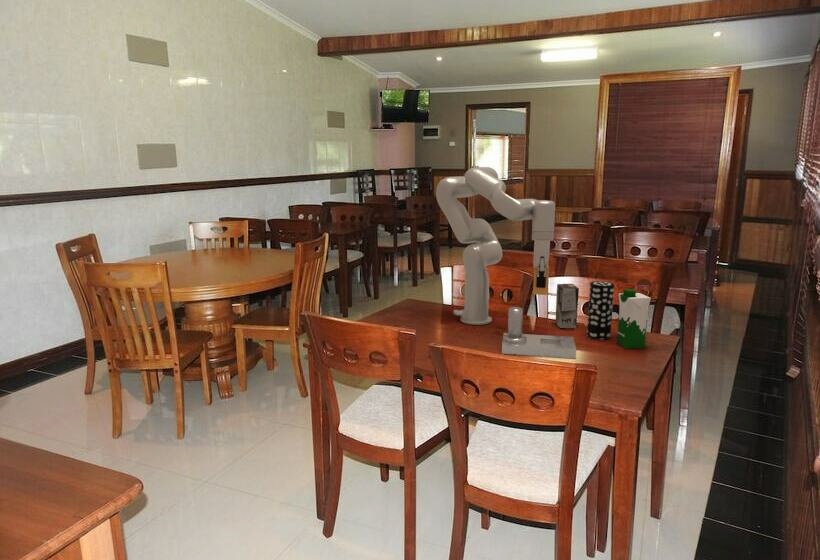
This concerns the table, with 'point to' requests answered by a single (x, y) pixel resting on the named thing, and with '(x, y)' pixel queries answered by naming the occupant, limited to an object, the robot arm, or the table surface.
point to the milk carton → (632, 319)
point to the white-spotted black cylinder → (600, 310)
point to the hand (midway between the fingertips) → (540, 285)
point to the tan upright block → (540, 290)
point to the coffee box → (566, 305)
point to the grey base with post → (534, 340)
